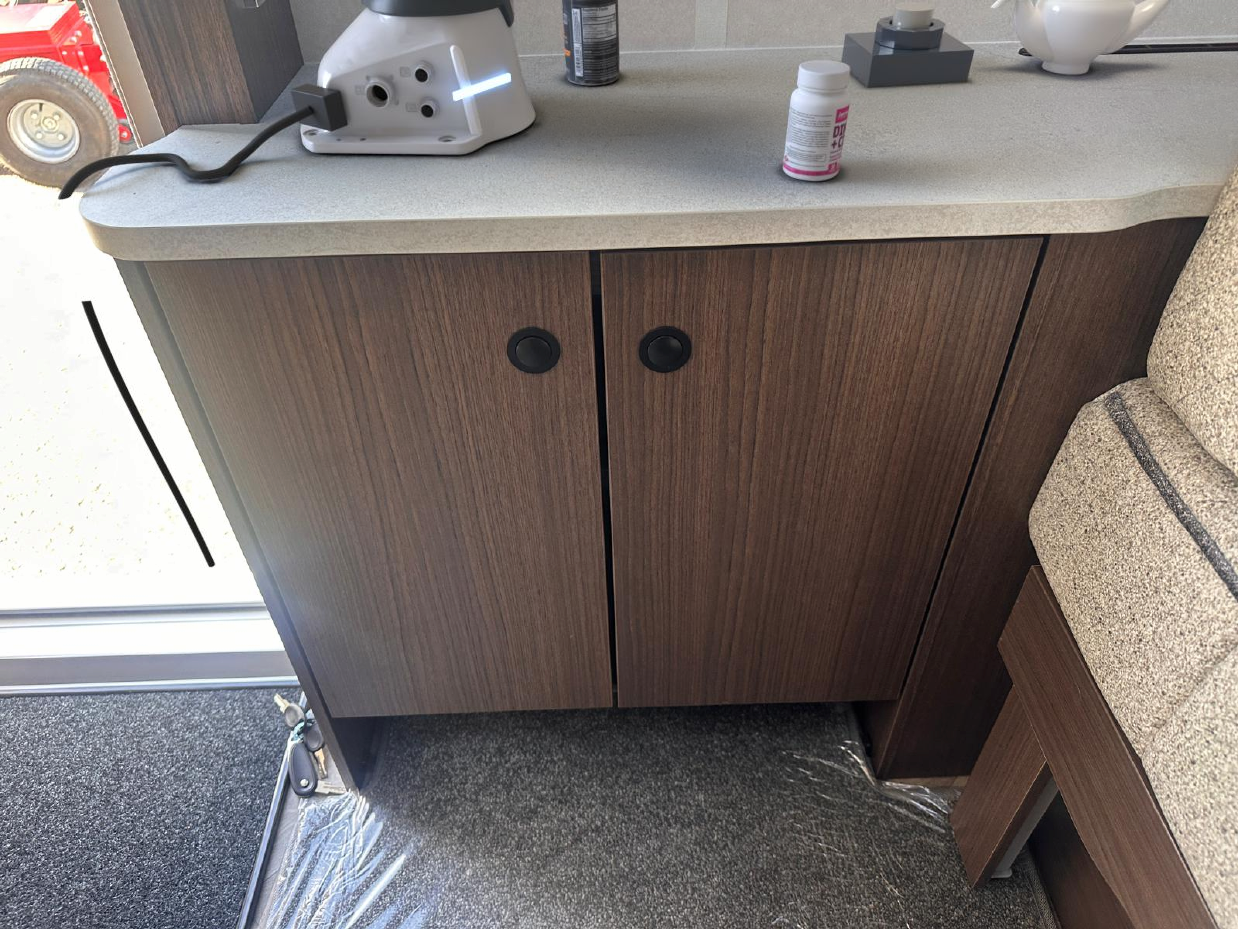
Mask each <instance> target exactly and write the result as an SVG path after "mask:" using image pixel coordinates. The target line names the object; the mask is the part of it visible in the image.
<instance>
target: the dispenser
mask: <svg viewBox="0 0 1238 929" xmlns="http://www.w3.org/2000/svg"><path fill="white" fill-rule="evenodd" d="M892 19H893V15H891V16H886V17H882V18H880V19H879V20H878V21H877V22H876V27H875V31H869V32H849V33H844V40H843V41H844V42H843V48H842V54H841V61H840V62H842V63H845V64H847V65H849V67H850V74H852V75H853V76H854V77H855V78H856V79H857V80H858V81H860V82H861V83H862V84H863V85H864V86H865V87H866V88H885V87H901V86H902V87H904V86H905V87H906V86H921V85H938V84H955V83H956V84H957V83H958V84H959V83H967V82H968V80H969V76H970V71H971V66H972V63H973V58H974V54H975V49H974V48H972V47H971V46H969V45H967V44H966V43H964V42H962V41H961V40H959V39H958V38H956V37H954V36H953V35H951V34H950V33H947V32H946V26H947V24H946V23H945V21H942V20H940V19H937V18H934V17H932V21H931V26H930V27H928V28H918V29H911V28H901V27H896V26H892Z"/></svg>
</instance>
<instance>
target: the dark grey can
mask: <svg viewBox="0 0 1238 929" xmlns="http://www.w3.org/2000/svg"><path fill="white" fill-rule="evenodd" d="M561 8H562V9H561V10H562V24H563V27H562V28H563V40H564V55H565V56H564V59H565V72H566V73H565V75H566V78H567V80H568V81H569V82H571V83H573V84H576V85H580V86H601V85H602V86H603V85H607V84H610V83H613V82H615V81H616V80H618V78H619V77H620V72H621V70H620V59H621V58H620V24H619V21H620V20H619V0H561Z"/></svg>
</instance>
